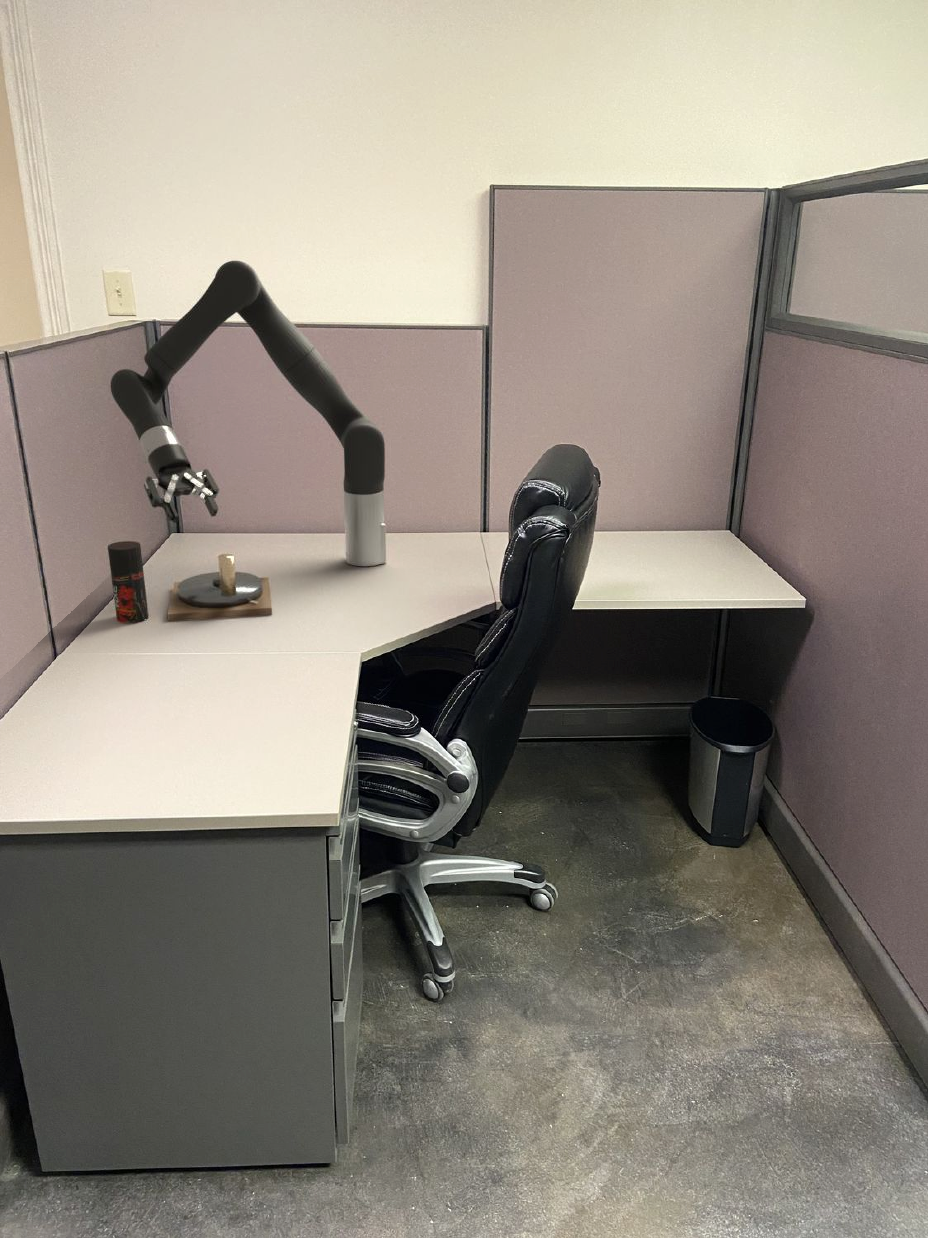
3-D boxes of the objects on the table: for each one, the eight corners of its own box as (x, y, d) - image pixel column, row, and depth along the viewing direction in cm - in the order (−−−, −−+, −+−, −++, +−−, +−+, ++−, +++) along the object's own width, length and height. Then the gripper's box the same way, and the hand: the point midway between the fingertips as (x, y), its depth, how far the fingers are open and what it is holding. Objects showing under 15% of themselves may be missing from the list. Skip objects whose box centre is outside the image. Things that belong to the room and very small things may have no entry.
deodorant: (155, 616, 183) (147, 543, 177) (133, 625, 178) (124, 551, 172) (132, 611, 185) (123, 539, 180) (110, 620, 180) (100, 547, 175)
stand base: (269, 583, 203) (268, 575, 202) (272, 614, 184) (271, 606, 184) (175, 588, 198) (174, 580, 198) (168, 621, 180) (167, 612, 180)
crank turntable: (277, 585, 196) (274, 540, 193) (236, 611, 181) (232, 562, 177) (207, 576, 201) (203, 532, 197) (161, 601, 185) (156, 554, 182)
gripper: (136, 445, 184) (167, 512, 180) (201, 438, 193) (232, 501, 189) (127, 468, 189) (158, 533, 185) (191, 459, 198) (221, 521, 195)
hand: (195, 517), depth 187 cm, fingers open, 8 cm apart
